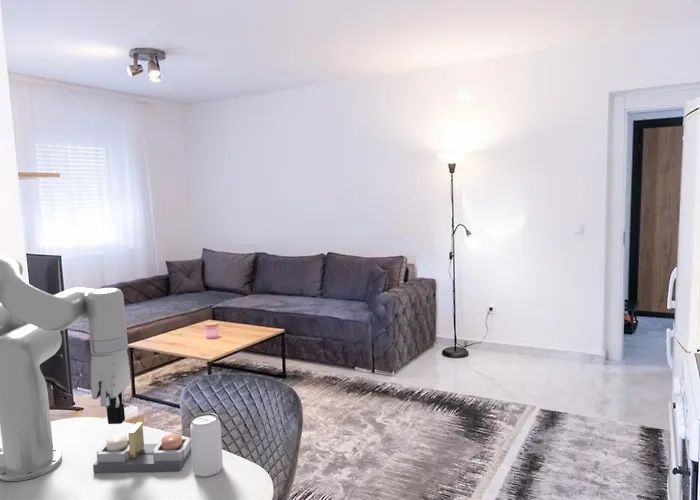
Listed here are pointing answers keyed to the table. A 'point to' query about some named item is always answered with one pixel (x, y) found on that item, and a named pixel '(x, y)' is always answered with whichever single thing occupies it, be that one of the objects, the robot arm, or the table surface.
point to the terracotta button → (172, 442)
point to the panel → (143, 459)
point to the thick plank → (136, 440)
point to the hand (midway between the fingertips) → (116, 422)
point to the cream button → (116, 443)
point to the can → (206, 445)
